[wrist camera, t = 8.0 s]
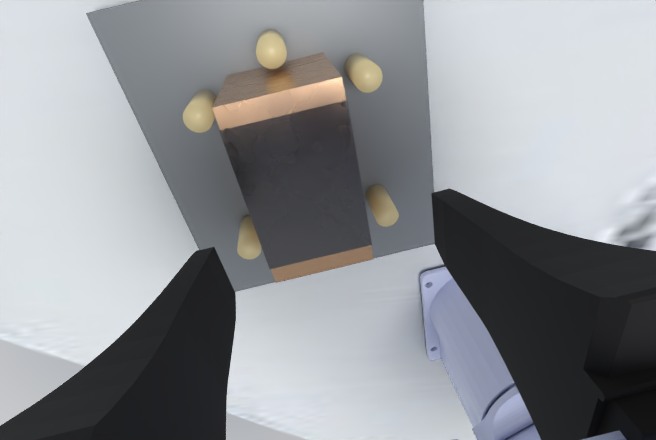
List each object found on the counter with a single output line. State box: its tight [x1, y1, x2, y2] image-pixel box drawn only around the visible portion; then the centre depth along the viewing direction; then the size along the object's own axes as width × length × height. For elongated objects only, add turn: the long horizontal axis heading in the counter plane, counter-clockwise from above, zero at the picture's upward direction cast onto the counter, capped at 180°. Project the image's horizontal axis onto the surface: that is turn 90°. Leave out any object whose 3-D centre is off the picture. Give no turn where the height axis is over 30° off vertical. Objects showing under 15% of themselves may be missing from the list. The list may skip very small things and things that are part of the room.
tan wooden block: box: [212, 52, 373, 282], centre depth 17 cm, size 8×5×6 cm, turn 11°
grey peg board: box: [86, 0, 435, 292], centre depth 19 cm, size 16×14×4 cm
